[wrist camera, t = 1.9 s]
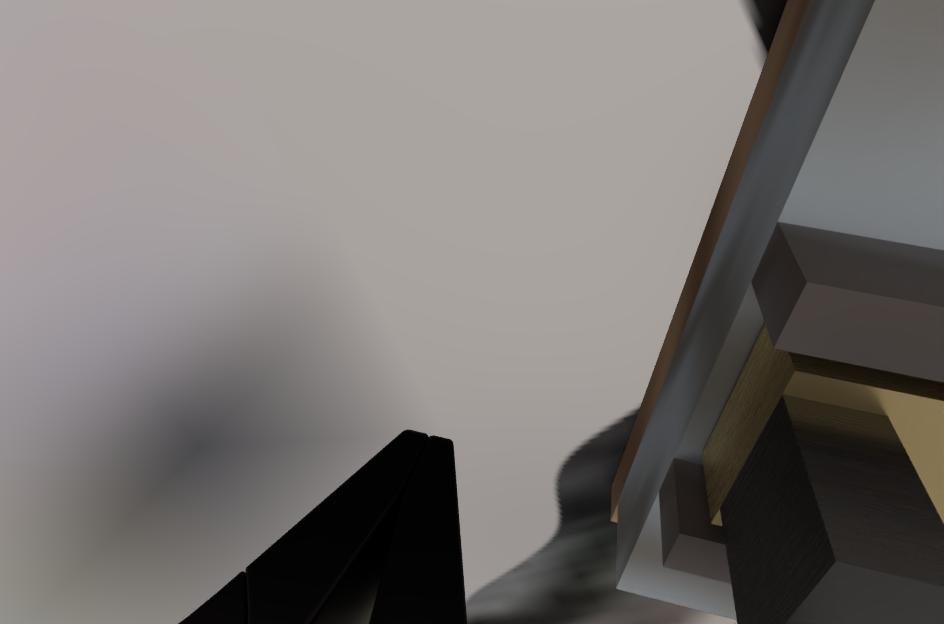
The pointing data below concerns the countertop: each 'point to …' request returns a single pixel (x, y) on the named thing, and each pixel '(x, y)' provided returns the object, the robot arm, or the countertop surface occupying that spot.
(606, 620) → the countertop surface
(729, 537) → the yellow and black block
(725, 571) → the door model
